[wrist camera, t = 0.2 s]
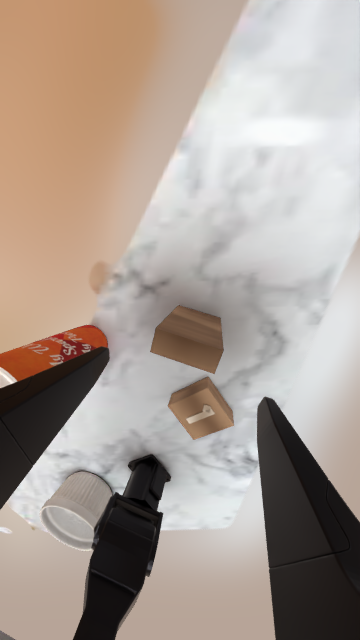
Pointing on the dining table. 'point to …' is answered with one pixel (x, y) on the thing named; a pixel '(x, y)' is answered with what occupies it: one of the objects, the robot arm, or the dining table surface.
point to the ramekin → (76, 510)
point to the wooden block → (190, 338)
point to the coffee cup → (48, 353)
